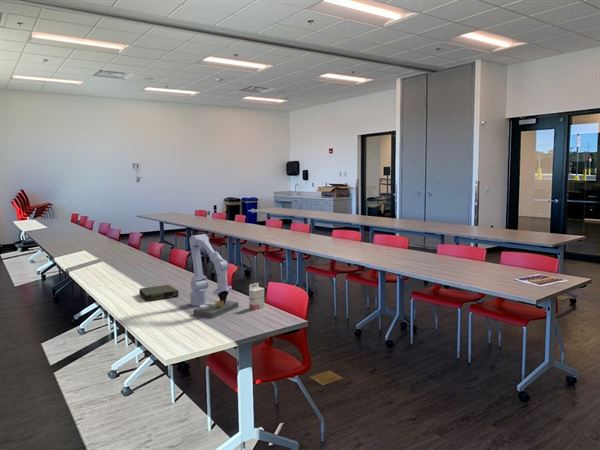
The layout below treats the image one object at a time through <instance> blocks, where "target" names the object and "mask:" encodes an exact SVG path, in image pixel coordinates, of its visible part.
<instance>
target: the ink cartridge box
mask: <svg viewBox="0 0 600 450" xmlns="http://www.w3.org/2000/svg"><path fill="white" fill-rule="evenodd" d="M259 284H260V283H259V282H255V283H251V284H249V285H248V286H249V288H248V305H249V306H248V307H249V309H250V310H254V311H256V310H259V309H262V308H265V287H261V286H260V285H259Z"/></svg>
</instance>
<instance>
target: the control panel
mask: <svg viewBox="0 0 600 450" xmlns="http://www.w3.org/2000/svg"><path fill="white" fill-rule="evenodd" d="M207 305H208V304H207ZM237 308H238V309H239V302H238V301H231V300H226V302H225V304H224V306H223V307H221V308H220V307H216V306H214V307H211V306H209V309H206V310H202V309H200V308H199V307H197V308H195V309H193V311H192V312H193V316H196V317H197V316H199V317H204V318H208V319H213V318H217V317H218V316H222V315H223V313H224V314H226V313H228V312H230V311H234V310H235V309H237Z"/></svg>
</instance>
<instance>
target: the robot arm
mask: <svg viewBox="0 0 600 450" xmlns="http://www.w3.org/2000/svg"><path fill="white" fill-rule="evenodd" d="M188 240H189V247H190V250H191V251H190V253H191V260H192V266H193V275H194V276H192V278H191V279H190V289H191V291H190V294H189V299H190V303H189V305H190V306H195V307H200V306H203V305H207V304H208V303H209V302H208V301H207V290H208V288H209V281H208V279H207V278H208V276H206V275H204V270H203V263H202V255H201V249H202V248H203V249H204V250H205V251H206V252H207V253H208V256H209V259H210V260H211V262H212V264H213V265H214V269H215V273H216V278H217V279H216V280H217V283H216V284H217V288H216V289H215V290H213V291H212V293H213V294H212V295H217V296H218V298H219V299H220V300H224V304H225V302H226V301H227V298H228V294H229V293H230V292H229V291H230V290H232V288H233V287H232V285H228V269H229V268H230V267H229V266H230V265H229V261H227V260H226V259H223V258H222V256H221V255H220V253H219V252H218V251H215V249H214V248H213V246H212V244H211V243H210V238H209V236H208V235H207V233H202V234H195V235H193V234H192V235H191V236H190V237H189V239H188Z"/></svg>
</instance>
